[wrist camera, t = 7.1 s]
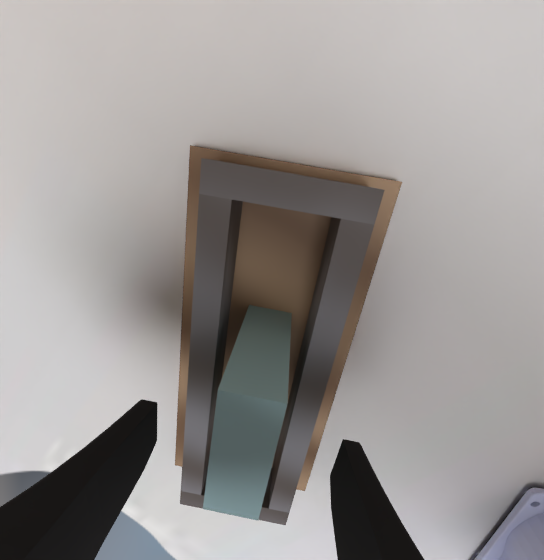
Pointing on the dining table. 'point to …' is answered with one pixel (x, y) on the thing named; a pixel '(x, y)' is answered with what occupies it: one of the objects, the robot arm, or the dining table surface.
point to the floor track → (273, 296)
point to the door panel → (249, 414)
